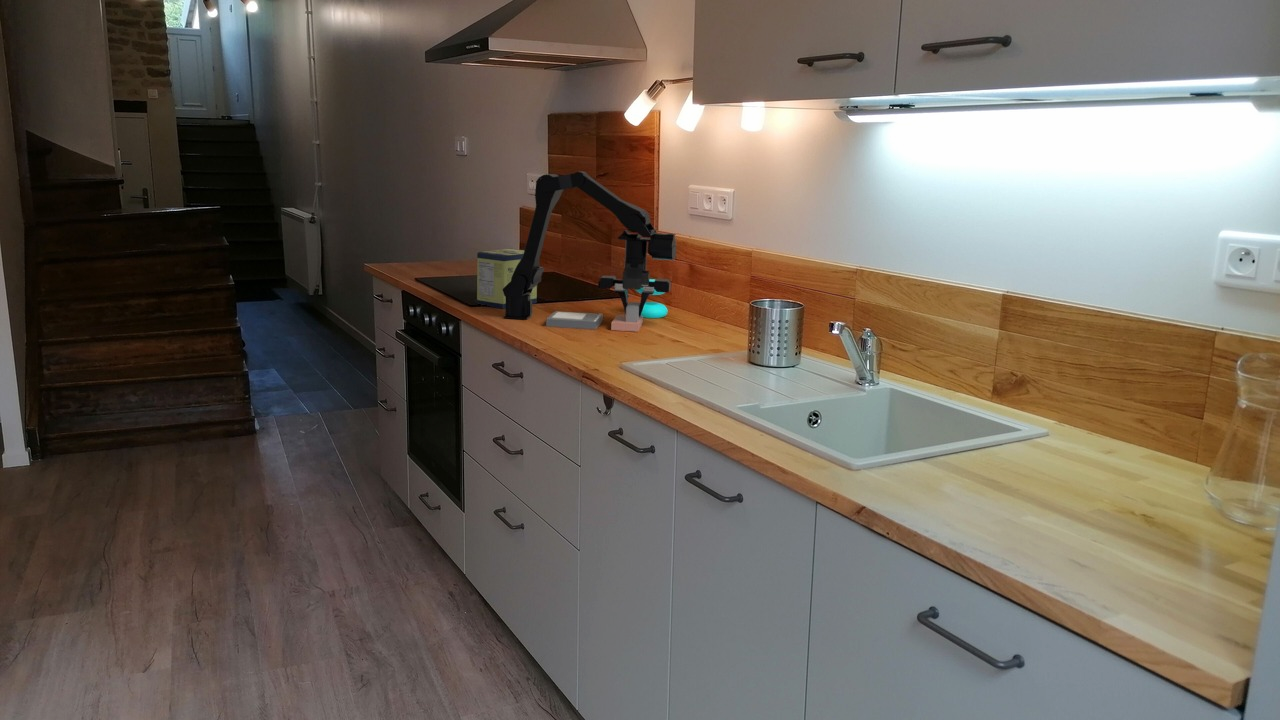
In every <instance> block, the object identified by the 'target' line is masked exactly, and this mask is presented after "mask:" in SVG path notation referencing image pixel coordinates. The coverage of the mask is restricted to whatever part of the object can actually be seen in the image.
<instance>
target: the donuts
mask: <svg viewBox="0 0 1280 720" xmlns="http://www.w3.org/2000/svg"><path fill="white" fill-rule="evenodd" d="M655 280H656V279H654V278H652V279H651V278H649V281H653V282H655ZM643 290H644V289H643V288H641V289H639V290H635V291H636V292H637V293H639V294H640V295H641V294H642V291H643ZM654 290H655V289H654ZM665 293H666V292H657V291H656V290H655V291H654V293H653V294H652V295H651V296H658V295H663V294H665ZM668 312H669V310H668V308H667V307H666V305H664V304H663V303H660V302H656V301H655V302H654V301H646V303H645V305H644V308H643V311H642V313H641V316H643V319H645V318H647V319H659V318H664V317H666V316H667V315H668Z"/></svg>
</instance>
